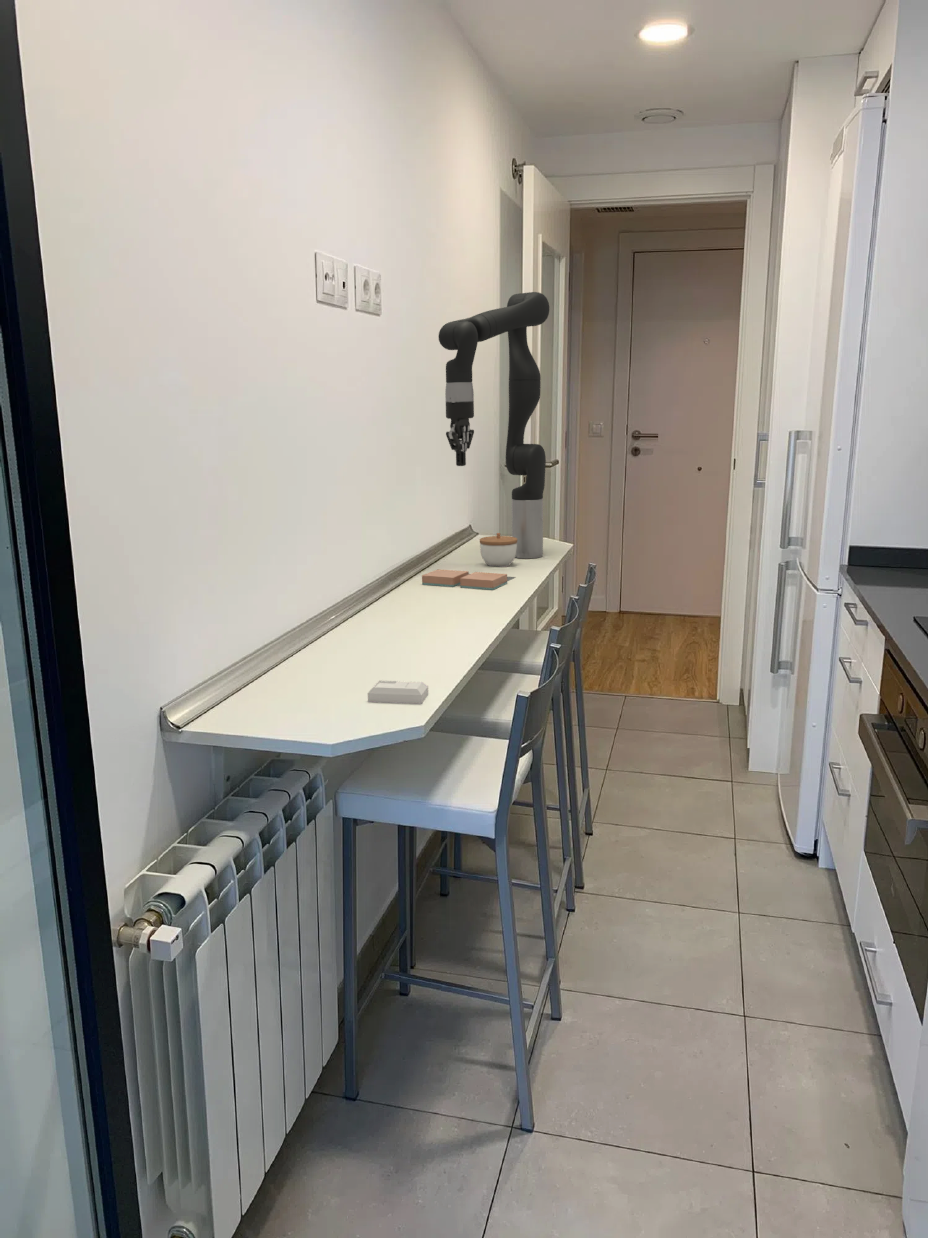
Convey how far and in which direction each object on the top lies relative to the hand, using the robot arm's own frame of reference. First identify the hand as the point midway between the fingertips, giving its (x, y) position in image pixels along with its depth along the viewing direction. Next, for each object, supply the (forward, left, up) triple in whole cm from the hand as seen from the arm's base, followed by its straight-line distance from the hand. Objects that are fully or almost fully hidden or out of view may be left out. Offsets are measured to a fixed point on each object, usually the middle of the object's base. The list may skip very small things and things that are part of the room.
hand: (460, 465), depth 256 cm
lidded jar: (-11, +6, -29) cm, 32 cm away
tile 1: (+13, +4, -27) cm, 31 cm away
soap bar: (+104, +38, -30) cm, 115 cm away
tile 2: (+13, +14, -27) cm, 34 cm away
